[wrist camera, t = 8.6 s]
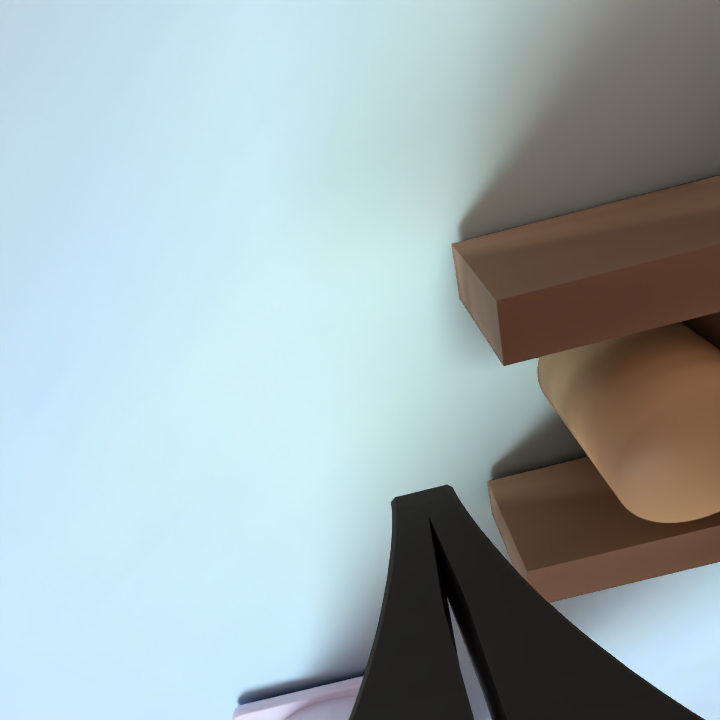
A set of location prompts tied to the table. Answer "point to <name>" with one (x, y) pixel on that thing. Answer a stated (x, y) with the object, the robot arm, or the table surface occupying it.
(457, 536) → the robot arm
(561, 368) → the oak dowel
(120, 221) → the table surface
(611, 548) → the walnut cradle
